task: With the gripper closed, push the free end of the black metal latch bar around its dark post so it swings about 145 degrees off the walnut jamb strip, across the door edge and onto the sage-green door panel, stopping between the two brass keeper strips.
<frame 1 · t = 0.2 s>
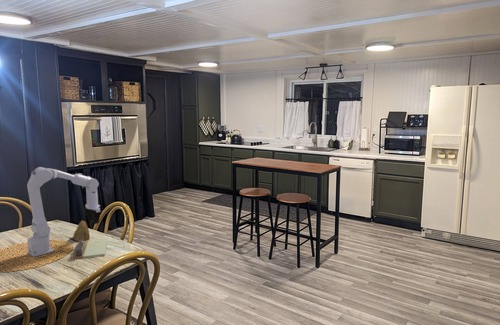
hand: (93, 221, 196), 10 cm above the table, fingers open, 7 cm apart
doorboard: (82, 249, 181), on the table
rock: (81, 238, 197), on the table
latch bar: (80, 249, 175), point 3 cm above the table, hinge at 0.0°
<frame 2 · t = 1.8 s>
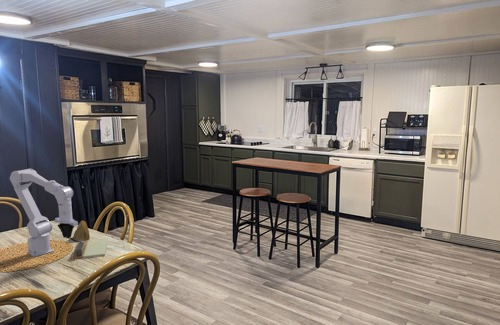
hand: (67, 237, 173), 9 cm above the table, fingers closed
nothing on the table moved.
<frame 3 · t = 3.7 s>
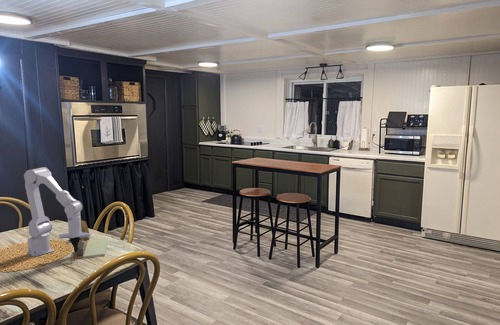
hand: (76, 251, 173), 2 cm above the table, fingers closed, pressing on latch bar
latch bar: (80, 248, 175), point 3 cm above the table, hinge at 2.9°, touching gripper
everything else where it was.
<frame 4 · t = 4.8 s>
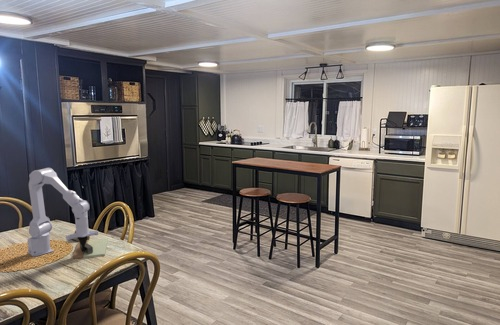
hand: (83, 250, 174), 2 cm above the table, fingers closed, pressing on latch bar
latch bar: (86, 247, 176), point 3 cm above the table, hinge at 27.5°, touching gripper
everything else where it was.
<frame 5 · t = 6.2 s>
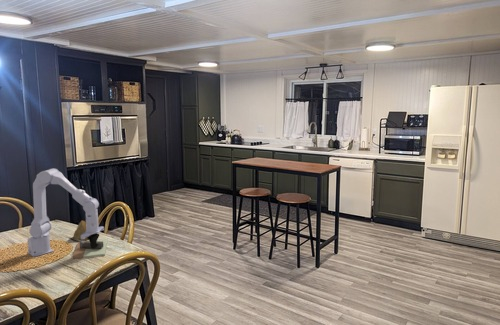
hand: (93, 247, 178), 2 cm above the table, fingers closed, pressing on latch bar
latch bar: (93, 244, 180), point 3 cm above the table, hinge at 67.9°, touching gripper
everything else where it was.
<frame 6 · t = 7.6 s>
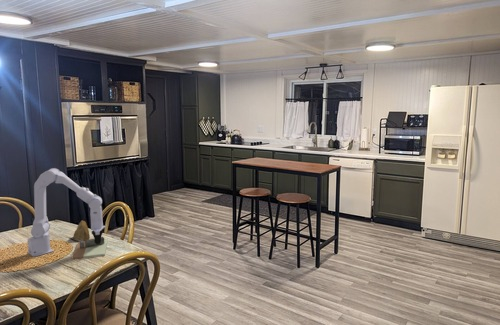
hand: (98, 243, 184), 2 cm above the table, fingers closed, pressing on latch bar
latch bar: (94, 241, 185), point 3 cm above the table, hinge at 109.6°, touching gripper
everything else where it was.
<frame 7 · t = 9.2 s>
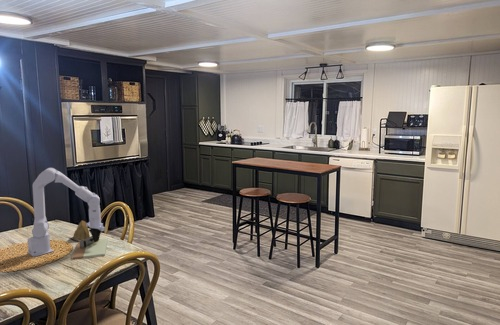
hand: (96, 241, 187), 2 cm above the table, fingers closed
latch bar: (90, 240, 187), point 3 cm above the table, hinge at 143.7°, touching gripper
everything else where it was.
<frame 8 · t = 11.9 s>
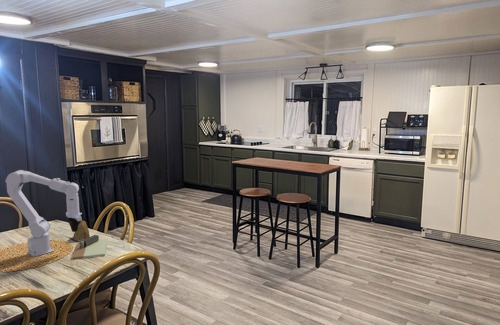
hand: (74, 231, 180), 10 cm above the table, fingers closed
latch bar: (90, 240, 187), point 3 cm above the table, hinge at 143.7°
everything else where it was.
at the end: latch bar at +144° (first picture: +0°); latch bar touching nothing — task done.
